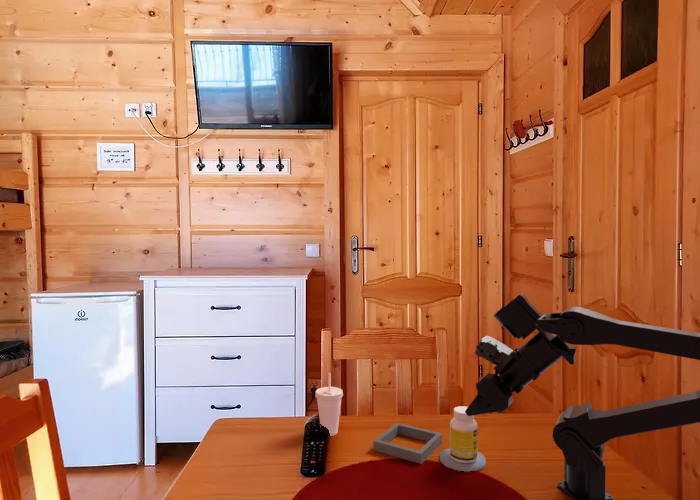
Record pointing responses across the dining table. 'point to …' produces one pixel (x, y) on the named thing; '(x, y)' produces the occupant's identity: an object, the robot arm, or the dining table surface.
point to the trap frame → (404, 452)
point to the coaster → (465, 467)
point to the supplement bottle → (463, 436)
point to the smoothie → (329, 406)
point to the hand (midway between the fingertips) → (474, 405)
